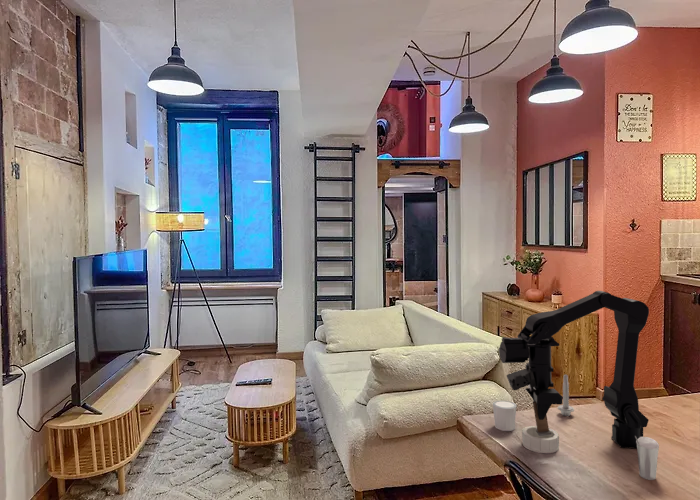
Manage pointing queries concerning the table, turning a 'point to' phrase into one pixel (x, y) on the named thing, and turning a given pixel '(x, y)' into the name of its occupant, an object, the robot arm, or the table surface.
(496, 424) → the white tapered cylinder
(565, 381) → the screw
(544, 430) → the brown wooden handle
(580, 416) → the table surface
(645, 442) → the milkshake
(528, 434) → the white bowl
